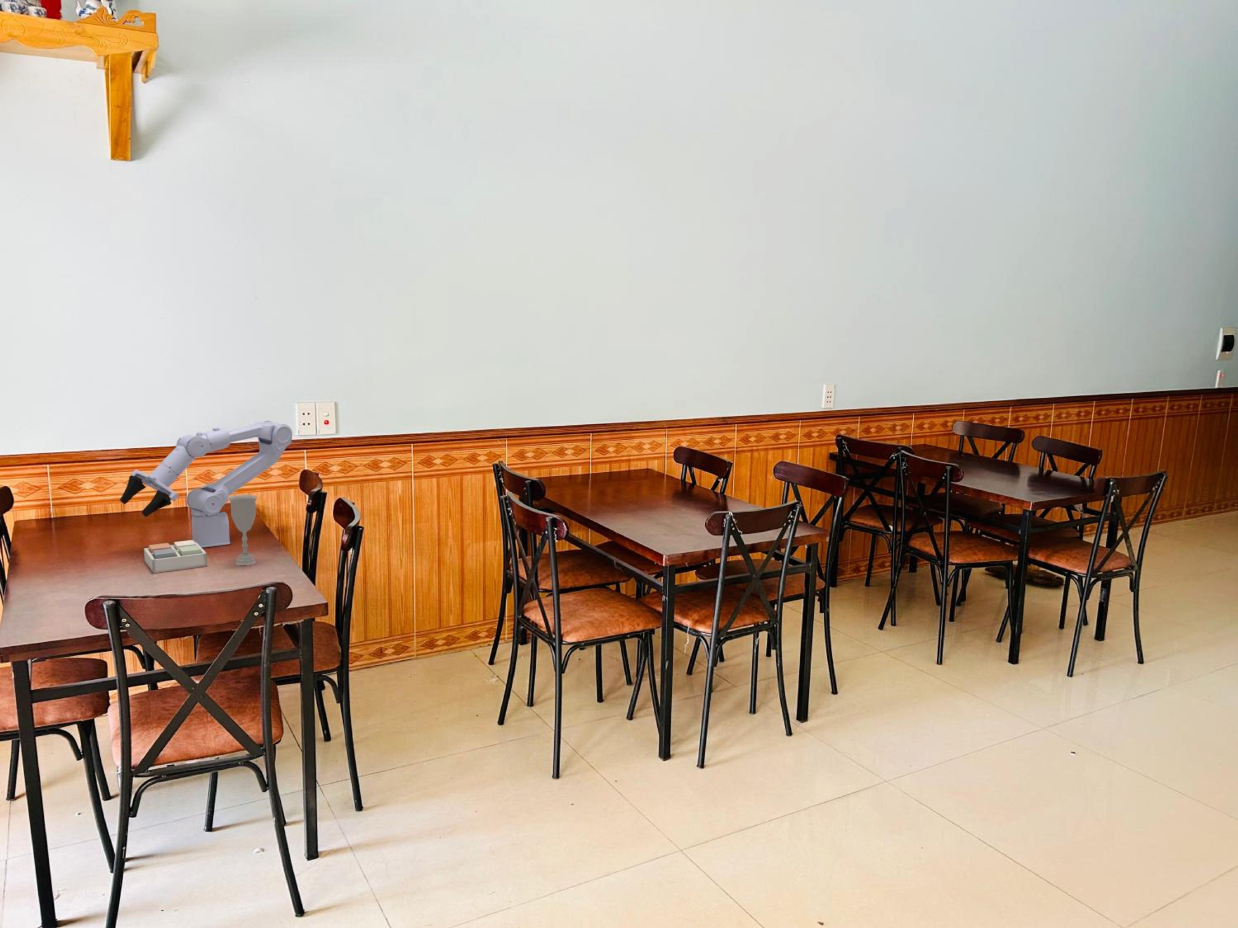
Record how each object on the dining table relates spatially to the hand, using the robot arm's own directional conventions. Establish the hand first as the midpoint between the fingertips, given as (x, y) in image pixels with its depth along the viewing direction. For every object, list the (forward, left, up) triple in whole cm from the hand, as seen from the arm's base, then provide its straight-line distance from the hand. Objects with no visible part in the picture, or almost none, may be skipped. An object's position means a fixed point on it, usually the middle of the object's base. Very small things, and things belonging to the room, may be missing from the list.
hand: (132, 508), depth 241 cm
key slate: (-5, +14, -12) cm, 19 cm away
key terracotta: (-5, +8, -12) cm, 15 cm away
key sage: (-11, +14, -12) cm, 21 cm away
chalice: (-24, +19, -14) cm, 33 cm away
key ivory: (-11, +8, -12) cm, 18 cm away
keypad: (-8, +11, -14) cm, 19 cm away
